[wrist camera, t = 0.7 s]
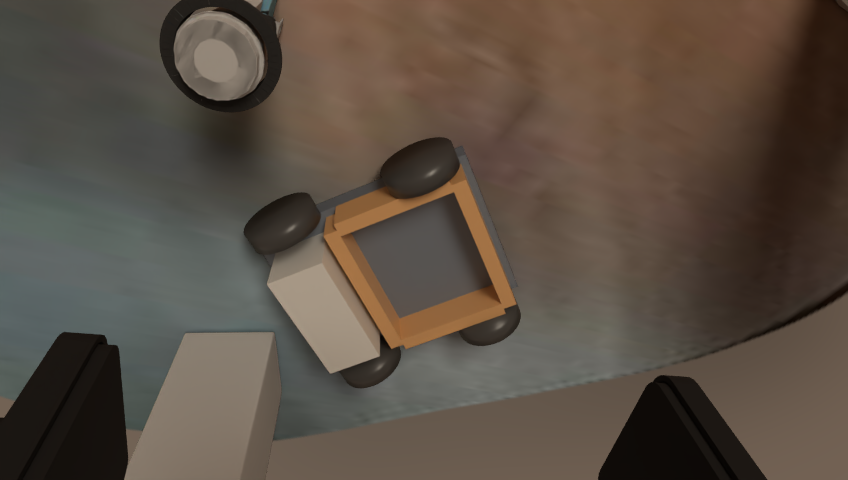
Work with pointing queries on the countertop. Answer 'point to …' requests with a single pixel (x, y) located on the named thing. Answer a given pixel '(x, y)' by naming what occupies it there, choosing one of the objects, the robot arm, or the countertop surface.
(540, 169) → the countertop surface
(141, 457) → the milk carton
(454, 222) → the chassis
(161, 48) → the push button
